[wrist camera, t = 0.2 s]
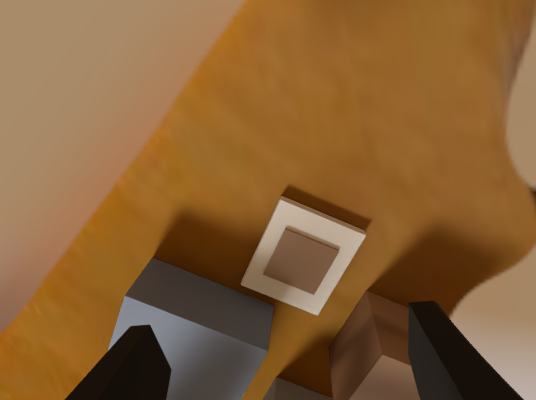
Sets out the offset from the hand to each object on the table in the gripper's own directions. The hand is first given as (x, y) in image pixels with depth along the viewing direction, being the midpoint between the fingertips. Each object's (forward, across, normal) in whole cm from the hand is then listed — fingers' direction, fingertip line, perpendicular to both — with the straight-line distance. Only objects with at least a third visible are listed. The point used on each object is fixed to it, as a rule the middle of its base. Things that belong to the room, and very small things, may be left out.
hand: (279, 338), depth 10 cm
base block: (+10, +8, +10) cm, 16 cm away
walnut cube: (+9, -4, +11) cm, 15 cm away
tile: (+10, 0, +5) cm, 11 cm away
